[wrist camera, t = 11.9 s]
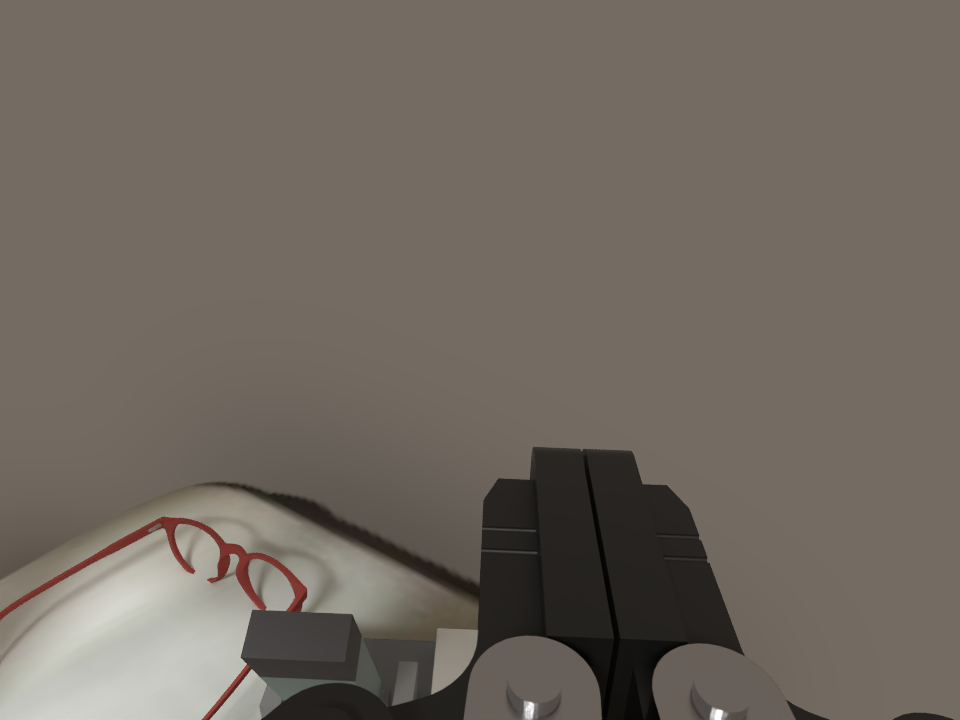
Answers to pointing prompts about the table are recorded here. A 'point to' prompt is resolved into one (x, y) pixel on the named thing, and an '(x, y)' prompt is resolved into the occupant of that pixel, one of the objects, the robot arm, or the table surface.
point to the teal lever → (309, 652)
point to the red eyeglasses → (223, 567)
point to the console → (411, 665)
